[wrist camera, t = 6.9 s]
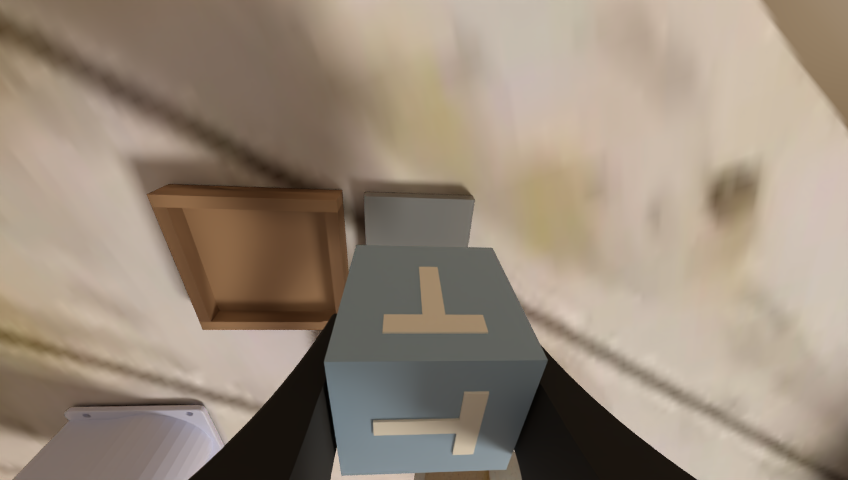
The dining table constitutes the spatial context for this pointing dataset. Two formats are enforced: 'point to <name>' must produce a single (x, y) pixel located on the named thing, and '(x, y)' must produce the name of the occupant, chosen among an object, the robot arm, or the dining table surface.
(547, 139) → the dining table surface
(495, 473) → the ceramic mug
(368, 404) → the letter cube
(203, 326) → the tray
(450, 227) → the slate tile
